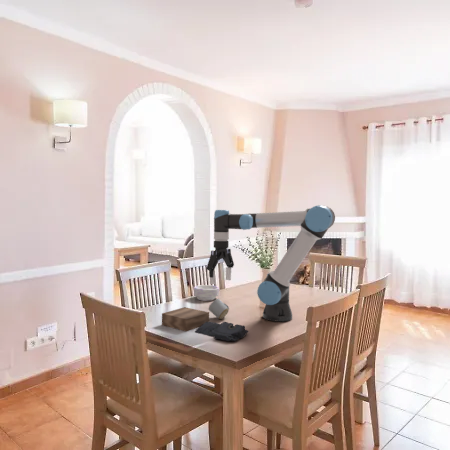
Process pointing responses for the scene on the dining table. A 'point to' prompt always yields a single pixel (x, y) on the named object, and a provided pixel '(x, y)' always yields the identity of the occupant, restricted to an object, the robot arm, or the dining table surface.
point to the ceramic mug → (219, 308)
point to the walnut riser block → (185, 318)
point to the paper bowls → (206, 292)
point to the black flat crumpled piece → (222, 330)
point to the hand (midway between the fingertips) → (220, 281)
